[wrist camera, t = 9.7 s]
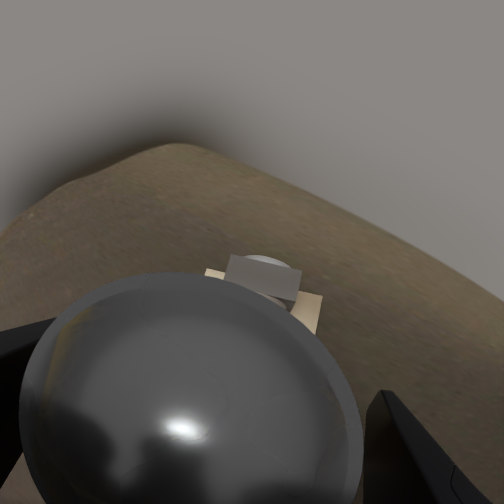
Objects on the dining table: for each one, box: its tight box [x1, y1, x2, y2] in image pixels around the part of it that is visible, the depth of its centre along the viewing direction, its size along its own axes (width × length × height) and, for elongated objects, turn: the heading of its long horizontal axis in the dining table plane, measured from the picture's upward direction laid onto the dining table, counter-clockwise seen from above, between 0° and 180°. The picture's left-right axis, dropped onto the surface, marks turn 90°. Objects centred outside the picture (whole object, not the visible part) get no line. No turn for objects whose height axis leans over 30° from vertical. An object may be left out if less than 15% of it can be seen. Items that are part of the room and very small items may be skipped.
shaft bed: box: [205, 254, 322, 335], centre depth 14 cm, size 15×7×4 cm, turn 166°
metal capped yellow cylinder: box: [19, 272, 364, 504], centre depth 9 cm, size 6×6×13 cm
